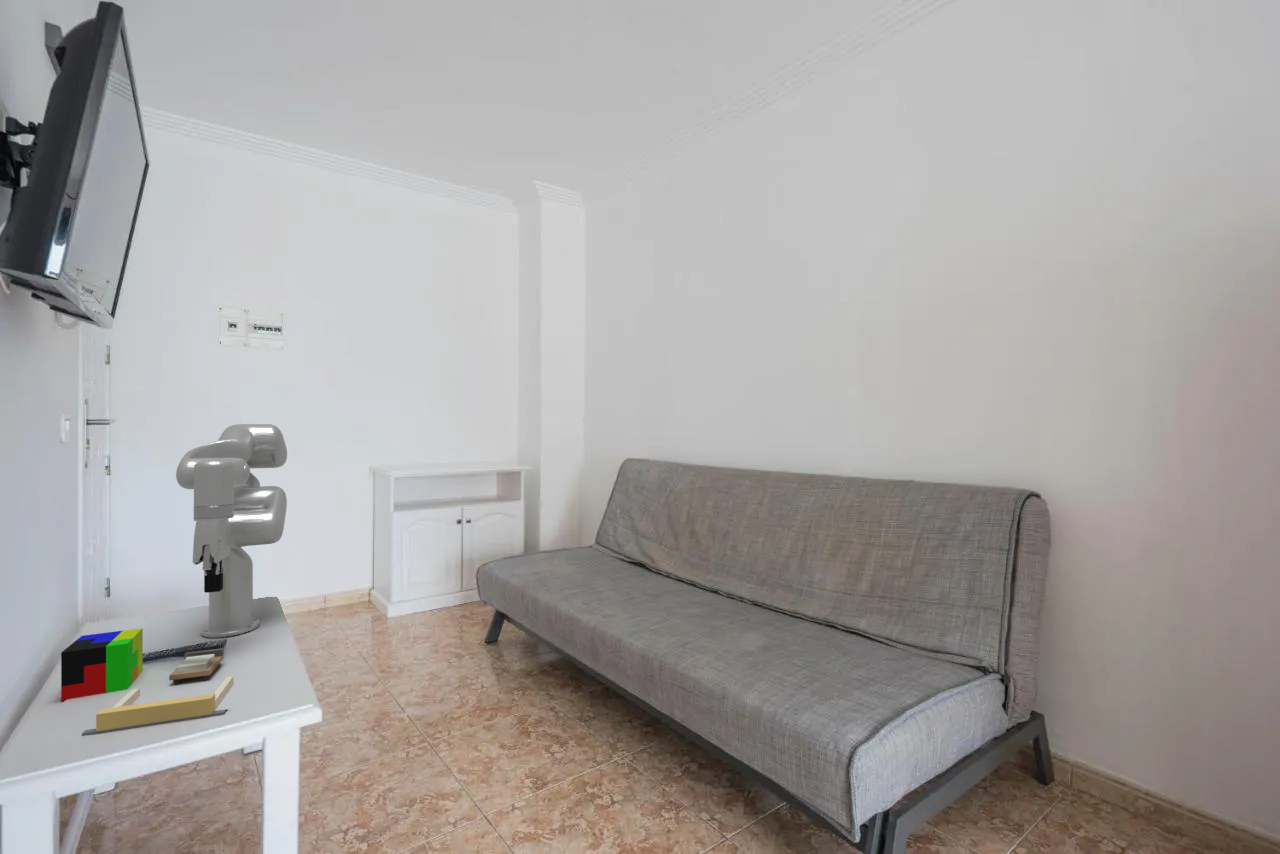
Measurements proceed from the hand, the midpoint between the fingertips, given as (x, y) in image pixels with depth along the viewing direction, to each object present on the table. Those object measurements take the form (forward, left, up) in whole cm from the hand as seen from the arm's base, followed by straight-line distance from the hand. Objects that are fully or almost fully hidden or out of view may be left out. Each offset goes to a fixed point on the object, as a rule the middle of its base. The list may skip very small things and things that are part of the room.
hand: (213, 591), depth 133 cm
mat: (+18, 0, -16) cm, 24 cm away
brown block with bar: (+10, 0, -15) cm, 18 cm away
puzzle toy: (+9, -17, -16) cm, 25 cm away
